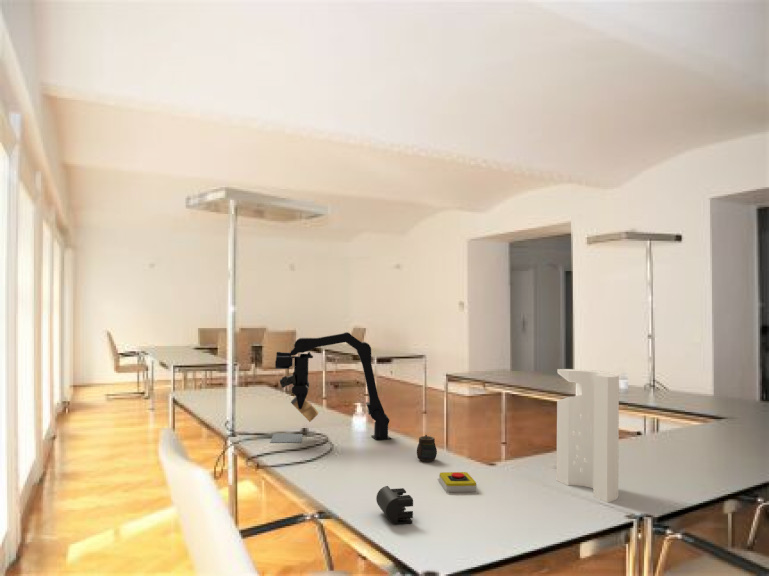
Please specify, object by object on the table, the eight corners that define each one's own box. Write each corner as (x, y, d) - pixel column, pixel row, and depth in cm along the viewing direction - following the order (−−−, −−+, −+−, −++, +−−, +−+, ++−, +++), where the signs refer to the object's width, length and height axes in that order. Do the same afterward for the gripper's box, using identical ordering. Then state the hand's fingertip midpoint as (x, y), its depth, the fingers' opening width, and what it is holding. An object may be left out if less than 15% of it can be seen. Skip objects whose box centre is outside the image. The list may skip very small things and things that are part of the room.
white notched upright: (604, 502, 157) (554, 480, 176) (634, 497, 161) (582, 477, 180) (605, 377, 158) (555, 369, 177) (635, 376, 162) (583, 368, 182)
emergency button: (447, 481, 161) (436, 466, 176) (447, 496, 161) (436, 480, 176) (479, 480, 162) (465, 466, 177) (478, 495, 162) (465, 480, 177)
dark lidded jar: (435, 457, 200) (436, 429, 201) (438, 463, 193) (438, 434, 193) (415, 457, 200) (416, 429, 201) (417, 463, 193) (418, 434, 193)
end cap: (375, 512, 146) (376, 486, 146) (401, 510, 148) (402, 484, 148) (385, 527, 136) (386, 499, 137) (413, 524, 138) (413, 497, 138)
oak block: (318, 412, 229) (299, 392, 228) (318, 414, 224) (299, 394, 224) (310, 419, 228) (291, 400, 228) (309, 422, 224) (290, 402, 223)
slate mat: (302, 434, 232) (302, 434, 232) (301, 442, 219) (301, 442, 219) (273, 434, 231) (273, 434, 231) (270, 442, 217) (270, 442, 217)
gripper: (282, 366, 235) (281, 403, 234) (279, 371, 216) (278, 412, 216) (309, 366, 236) (308, 403, 235) (308, 371, 217) (307, 412, 217)
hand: (300, 407), depth 226 cm, fingers closed on oak block, 4 cm apart
